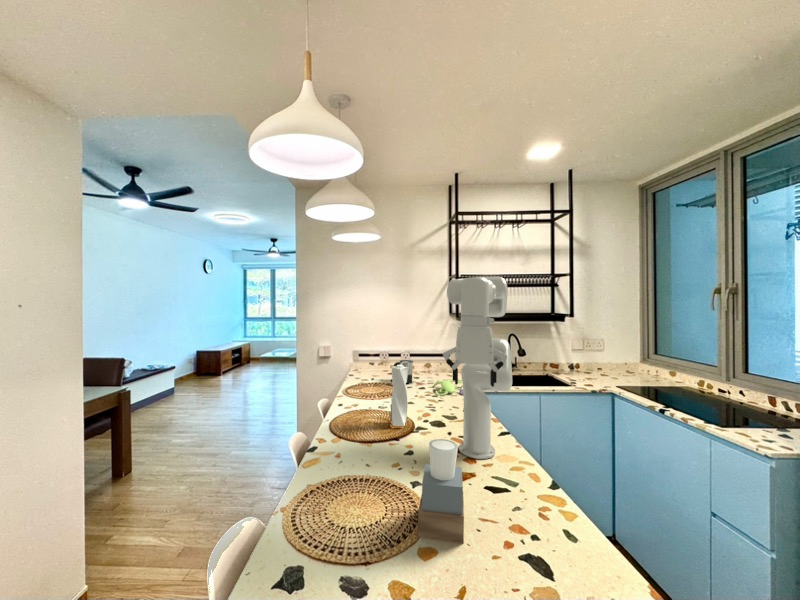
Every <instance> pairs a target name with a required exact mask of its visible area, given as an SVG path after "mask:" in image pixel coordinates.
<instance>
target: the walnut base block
mask: <svg viewBox="0 0 800 600" xmlns="http://www.w3.org/2000/svg"><path fill="white" fill-rule="evenodd" d="M464 505H465V504H464V500H463V515H460V514H451V513H442V512H434V511H425V510H422V494H421V496H420V500H419V507H418V511H417V512H418V513H417V515H418V516H417V522H418V523H417V531H418V532H417V537H418V538H419V539H420V538H422V539H428V540H435V541H441V542H446V543H447V542H448V543H454V544H455V543H456V544H457V543H458V544H463V545H464V541H465V539H464V535H465V533H464V531H465V526H464V525H465V524H464V523H465V511H464V510H465V507H464Z"/></svg>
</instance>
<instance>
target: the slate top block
mask: <svg viewBox="0 0 800 600" xmlns="http://www.w3.org/2000/svg"><path fill="white" fill-rule="evenodd" d="M421 483H422V484H421V495H422V510H425V511H434V512H442V513H451V514H460V515H463V501H464V486H463V484H464V483H463V467H460V466H455V473H454V477H453V479H451V480H446V481H444V480H438V479H435V478H434V477H432V476H431V473H430V463H425V464H424V471H423V477H422V482H421Z"/></svg>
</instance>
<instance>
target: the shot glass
mask: <svg viewBox="0 0 800 600" xmlns="http://www.w3.org/2000/svg"><path fill="white" fill-rule="evenodd" d="M428 447H429V448H428V450H429V464H430V473H431V476H432V477H434V478H435V479H438V480H444V481H446V480H451V479H453V477H454V473H455V467H457V466H456V465H457V457H458V451H459V445H458V444H457V443H456V441H455V442H454V441H452V440H449V439H445V438H439V439H438V438H436V439H432V440H430V441H429V442H428Z"/></svg>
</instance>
